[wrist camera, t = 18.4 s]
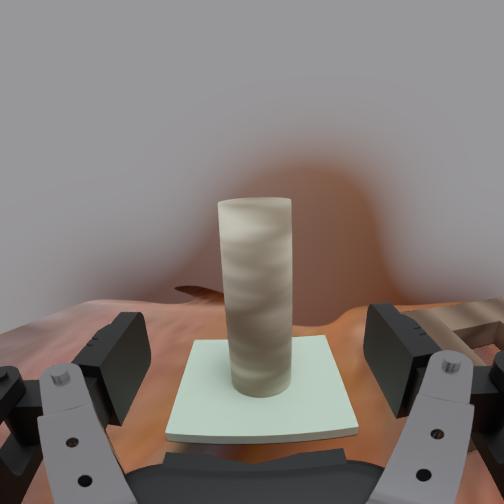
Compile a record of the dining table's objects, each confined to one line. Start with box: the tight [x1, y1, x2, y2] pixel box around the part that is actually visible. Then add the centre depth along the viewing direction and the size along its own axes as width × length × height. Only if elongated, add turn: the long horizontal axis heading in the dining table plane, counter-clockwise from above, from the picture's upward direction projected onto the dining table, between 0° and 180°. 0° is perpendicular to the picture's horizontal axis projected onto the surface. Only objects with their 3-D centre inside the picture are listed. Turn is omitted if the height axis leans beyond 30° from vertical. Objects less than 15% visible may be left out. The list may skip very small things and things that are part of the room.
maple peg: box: [218, 197, 292, 398], centre depth 21 cm, size 4×4×13 cm
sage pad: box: [165, 335, 359, 444], centre depth 23 cm, size 12×12×1 cm
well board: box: [400, 297, 504, 452], centre depth 20 cm, size 16×16×2 cm
